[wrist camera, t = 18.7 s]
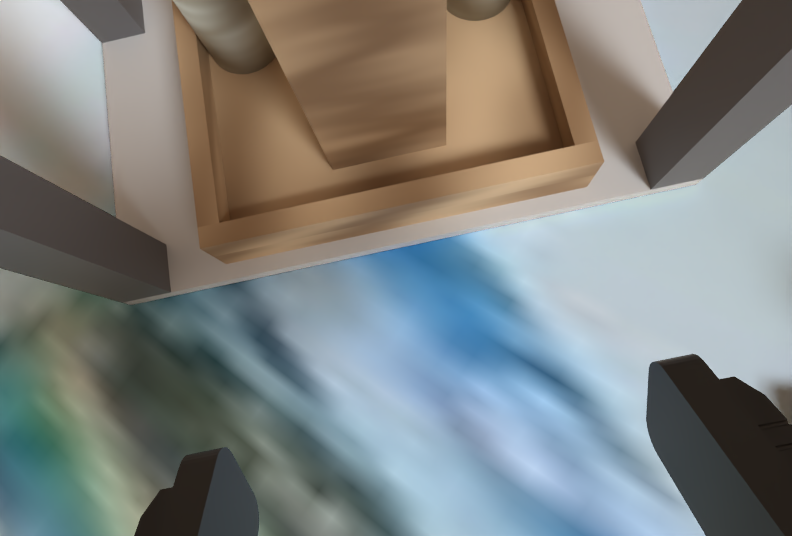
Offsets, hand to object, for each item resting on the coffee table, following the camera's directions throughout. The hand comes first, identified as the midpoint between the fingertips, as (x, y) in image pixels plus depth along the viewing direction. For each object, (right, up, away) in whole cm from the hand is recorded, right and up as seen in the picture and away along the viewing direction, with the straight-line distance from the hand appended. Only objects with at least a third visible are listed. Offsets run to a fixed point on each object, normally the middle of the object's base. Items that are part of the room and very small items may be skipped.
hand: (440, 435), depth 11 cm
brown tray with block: (-2, +10, +12) cm, 16 cm away
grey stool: (-2, +11, +13) cm, 17 cm away
